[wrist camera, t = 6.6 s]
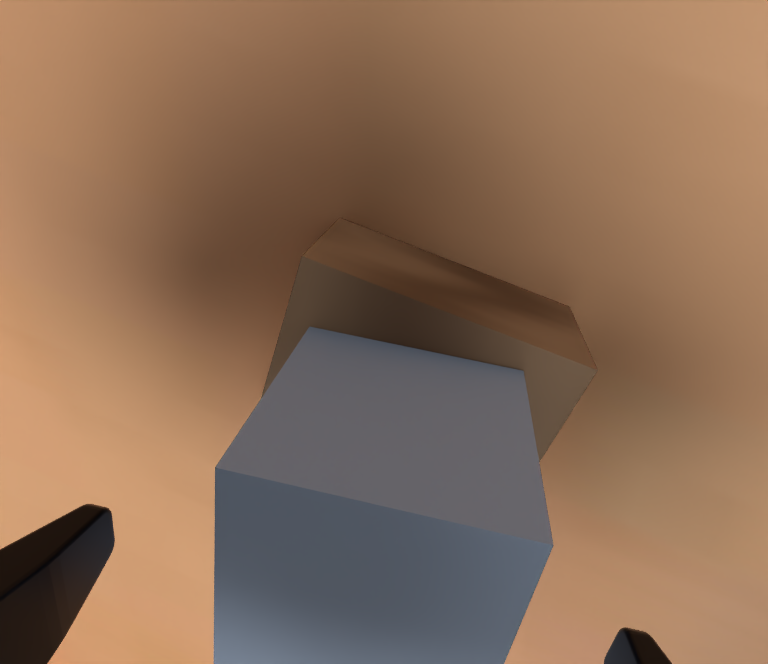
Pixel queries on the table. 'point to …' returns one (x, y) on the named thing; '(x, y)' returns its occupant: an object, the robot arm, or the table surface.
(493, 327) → the walnut block
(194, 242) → the table surface
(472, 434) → the blue cube
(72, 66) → the table surface
